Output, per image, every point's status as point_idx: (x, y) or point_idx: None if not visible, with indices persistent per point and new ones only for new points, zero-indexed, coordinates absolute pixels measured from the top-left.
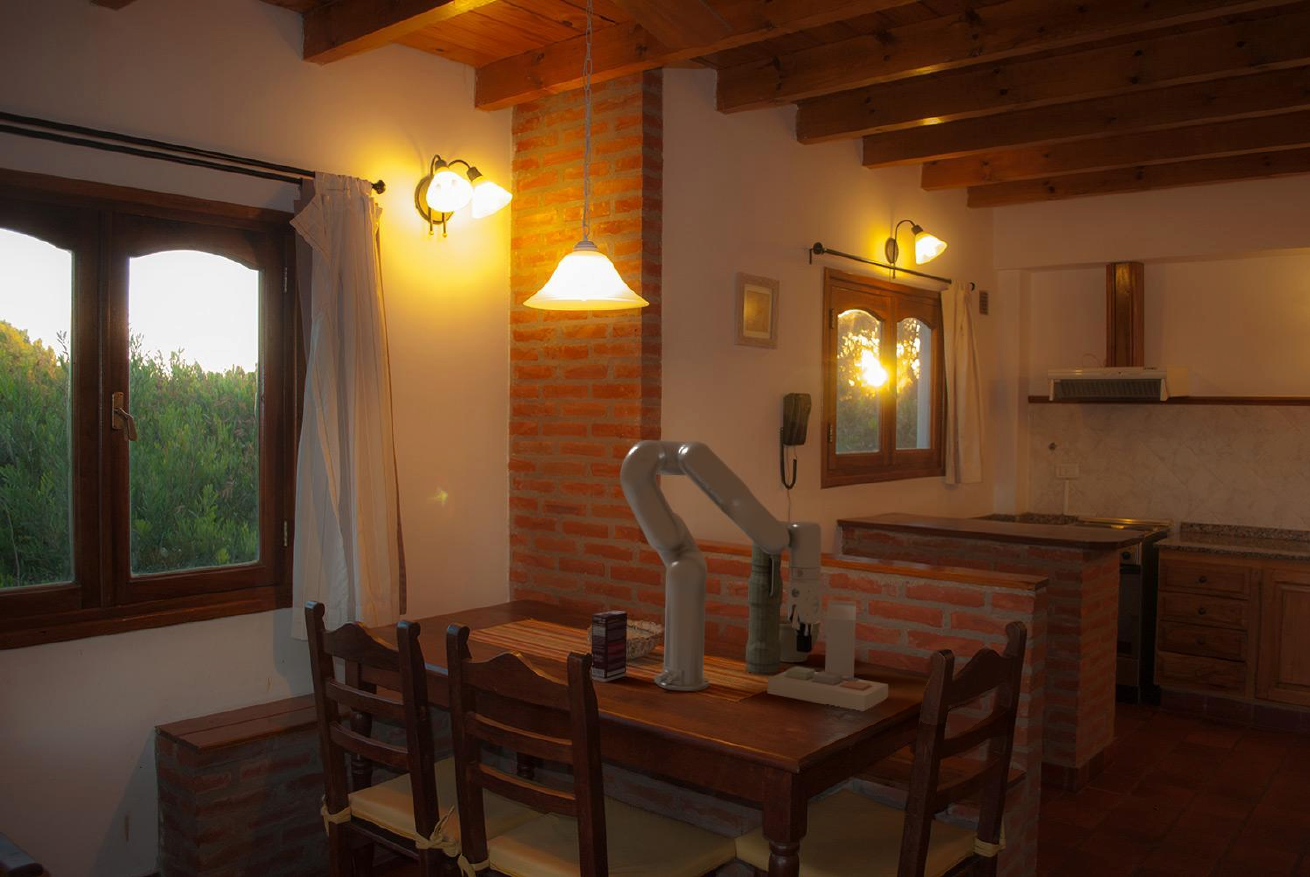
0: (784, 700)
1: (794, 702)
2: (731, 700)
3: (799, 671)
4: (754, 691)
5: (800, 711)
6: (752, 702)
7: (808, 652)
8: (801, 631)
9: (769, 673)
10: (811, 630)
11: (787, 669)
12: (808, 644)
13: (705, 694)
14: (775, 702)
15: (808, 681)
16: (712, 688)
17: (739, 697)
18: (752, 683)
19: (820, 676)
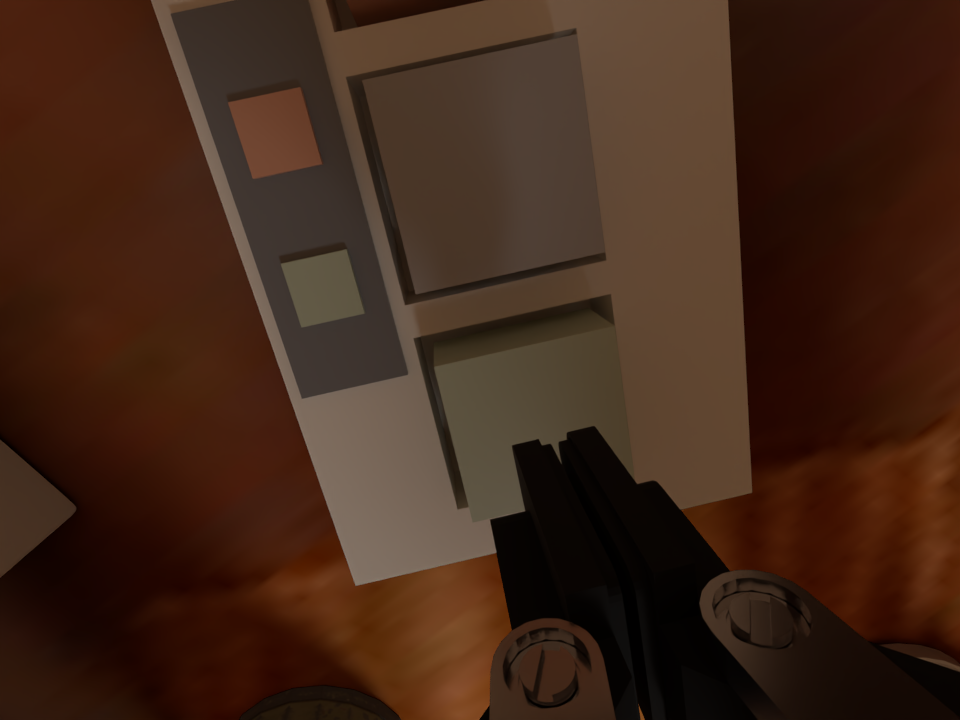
0: (766, 288)
1: (765, 220)
2: (955, 453)
3: (601, 395)
4: (715, 509)
5: (933, 48)
6: (924, 366)
7: (584, 430)
8: (944, 683)
9: (354, 698)
10: (520, 716)
11: None
12: (627, 481)
13: (930, 588)
14: (842, 291)
15: (617, 270)
16: None
17: (876, 470)
18: None
19: (593, 182)
